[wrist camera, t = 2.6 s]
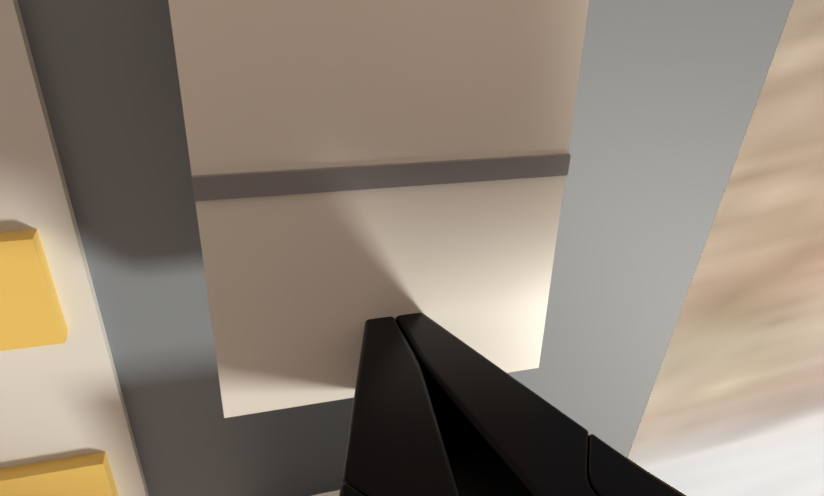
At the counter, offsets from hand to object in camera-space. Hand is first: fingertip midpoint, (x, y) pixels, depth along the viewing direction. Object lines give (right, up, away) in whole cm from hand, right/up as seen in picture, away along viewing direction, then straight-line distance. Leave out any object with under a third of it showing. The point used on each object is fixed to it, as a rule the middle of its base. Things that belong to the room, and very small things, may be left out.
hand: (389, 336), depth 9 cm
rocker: (0, +3, -1) cm, 3 cm away
